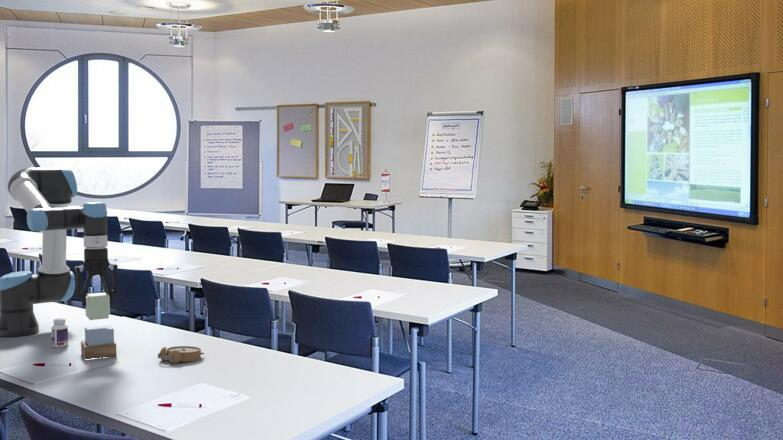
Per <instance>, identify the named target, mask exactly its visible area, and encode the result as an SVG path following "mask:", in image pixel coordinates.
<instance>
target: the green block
mask: <svg viewBox="0 0 783 440" xmlns="http://www.w3.org/2000/svg"><path fill="white" fill-rule="evenodd" d="M86 296H87V297H88V298H89V317H87V318H88V320H89V321H93V320H94V321H96V320H104V319H106V320H107V319H109V317H110V316H109V311H108V293H106V292H95V293H94V292H93V293H87V295H86Z"/></svg>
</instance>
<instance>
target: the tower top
mask: <svg viewBox="0 0 783 440" xmlns="http://www.w3.org/2000/svg"><path fill="white" fill-rule="evenodd" d="M84 340H85V342H86V343H87V344H88V345H89V346H95V345H103V344H111V343H114V341H115V329H114V327H113V326H111V324H100V325H90V326H84Z"/></svg>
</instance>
